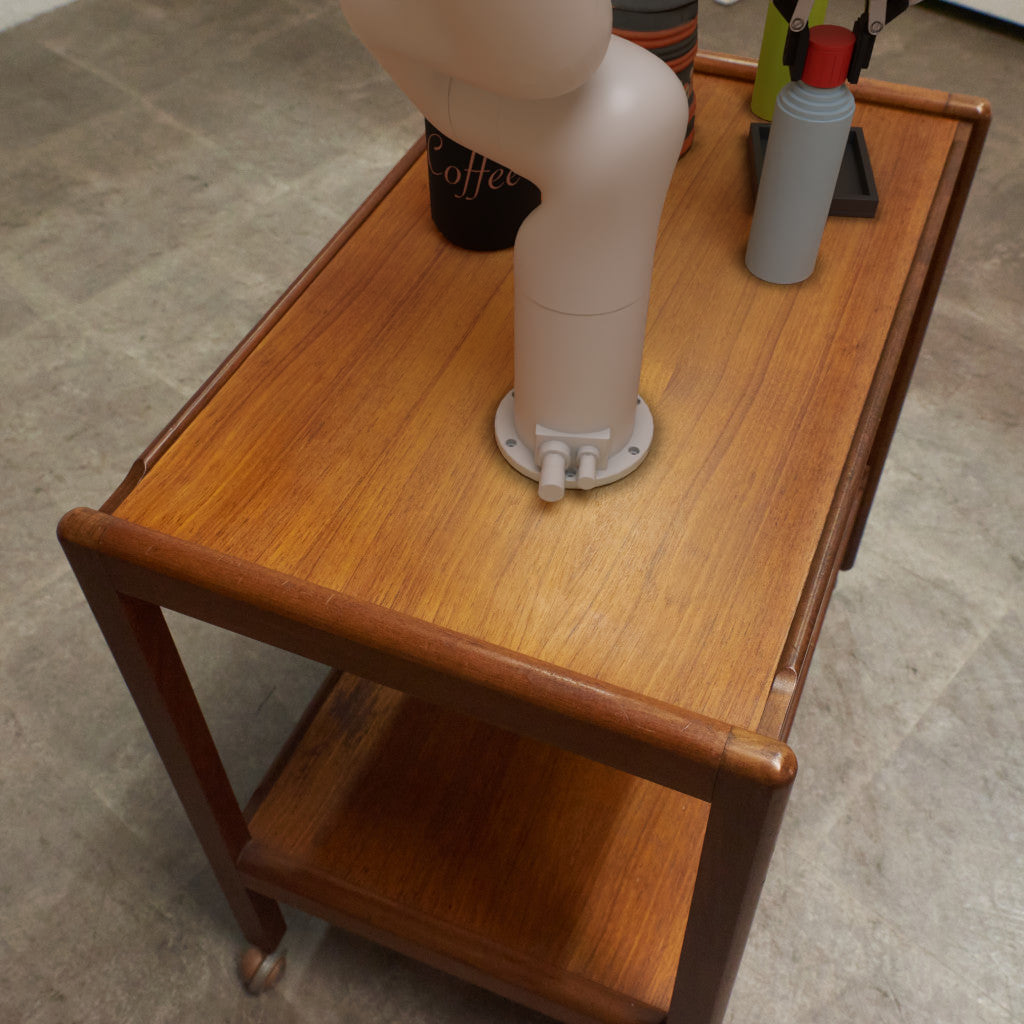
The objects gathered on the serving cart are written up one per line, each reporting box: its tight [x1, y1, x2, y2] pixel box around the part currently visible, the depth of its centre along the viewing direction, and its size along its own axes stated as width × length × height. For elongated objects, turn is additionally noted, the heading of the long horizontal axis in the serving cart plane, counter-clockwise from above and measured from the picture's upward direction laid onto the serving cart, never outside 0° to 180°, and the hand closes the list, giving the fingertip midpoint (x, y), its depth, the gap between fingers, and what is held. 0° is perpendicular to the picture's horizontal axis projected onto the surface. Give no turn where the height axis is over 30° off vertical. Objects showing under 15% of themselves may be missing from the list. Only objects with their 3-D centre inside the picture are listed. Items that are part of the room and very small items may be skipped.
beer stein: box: [611, 0, 699, 159], centre depth 107 cm, size 19×15×20 cm
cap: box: [801, 23, 856, 88], centre depth 84 cm, size 4×4×3 cm
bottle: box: [744, 80, 856, 285], centre depth 92 cm, size 6×6×21 cm
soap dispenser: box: [750, 0, 830, 122], centre depth 111 cm, size 6×7×20 cm
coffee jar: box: [423, 116, 542, 253], centre depth 97 cm, size 11×11×18 cm
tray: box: [747, 121, 880, 219], centre depth 108 cm, size 14×12×2 cm
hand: (822, 72), depth 85 cm, fingers closed on cap, 3 cm apart
